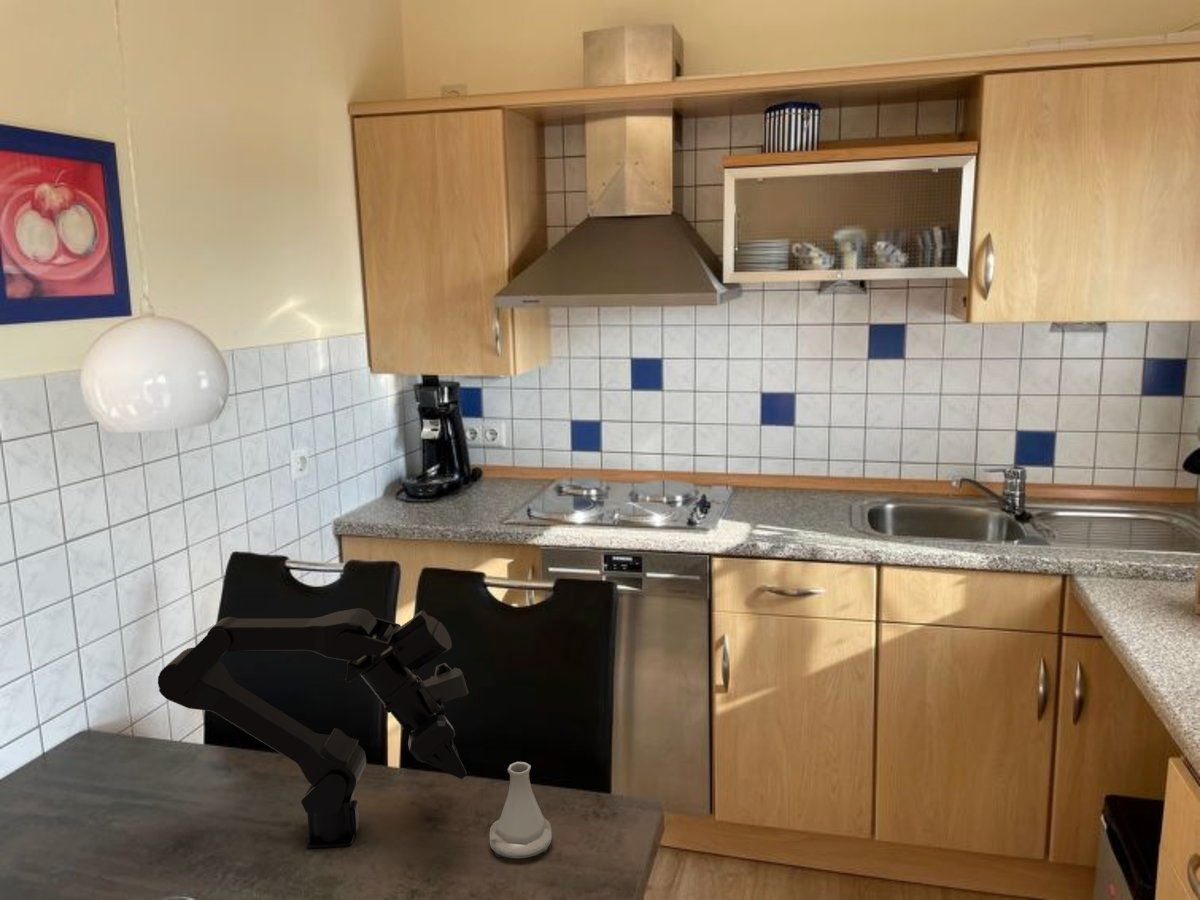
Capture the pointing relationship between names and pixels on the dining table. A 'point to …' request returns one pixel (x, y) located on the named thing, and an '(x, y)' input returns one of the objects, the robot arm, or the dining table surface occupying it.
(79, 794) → the dining table surface
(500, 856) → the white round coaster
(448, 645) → the robot arm
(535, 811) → the flask
